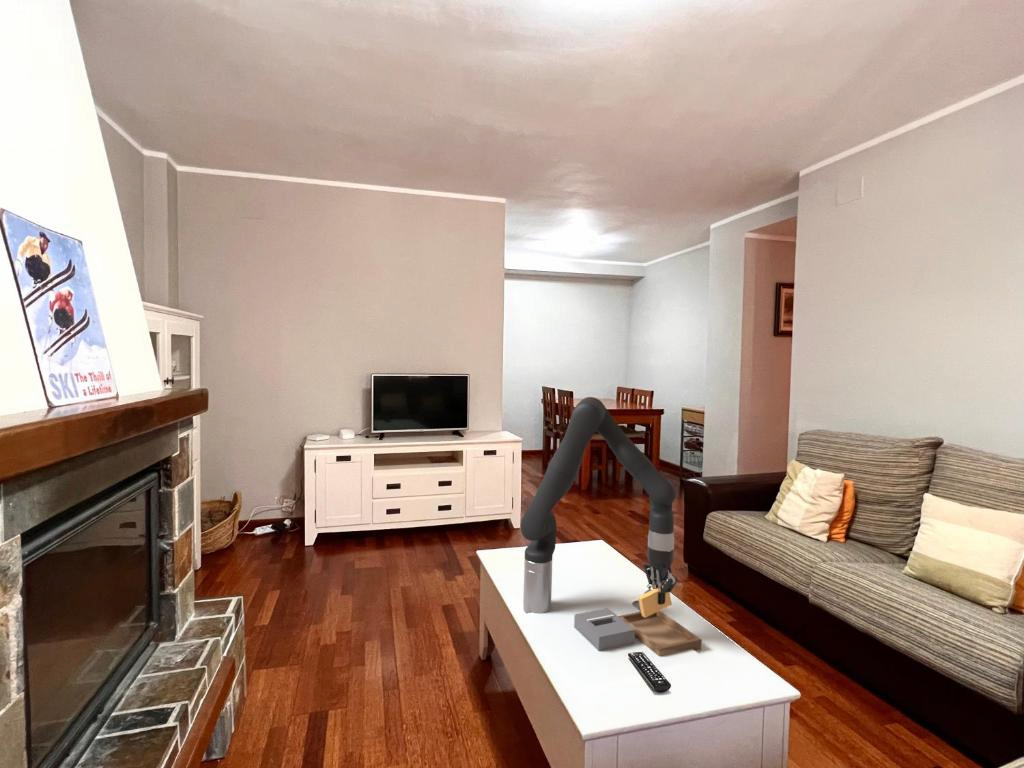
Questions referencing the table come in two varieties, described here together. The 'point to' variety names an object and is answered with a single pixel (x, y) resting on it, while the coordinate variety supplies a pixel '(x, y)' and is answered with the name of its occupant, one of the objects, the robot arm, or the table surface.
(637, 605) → the pocket watch
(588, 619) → the dispenser
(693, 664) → the table surface
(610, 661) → the table surface
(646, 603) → the yellow rectangular block
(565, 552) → the table surface
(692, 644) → the tray
